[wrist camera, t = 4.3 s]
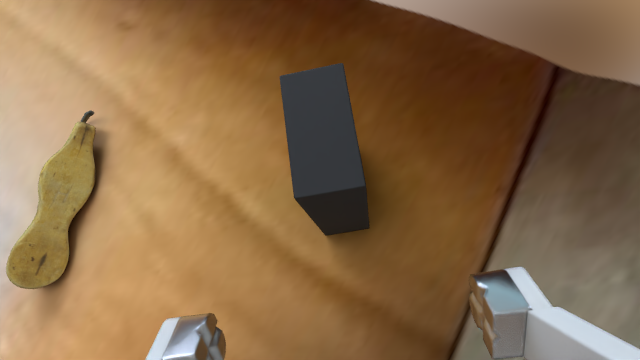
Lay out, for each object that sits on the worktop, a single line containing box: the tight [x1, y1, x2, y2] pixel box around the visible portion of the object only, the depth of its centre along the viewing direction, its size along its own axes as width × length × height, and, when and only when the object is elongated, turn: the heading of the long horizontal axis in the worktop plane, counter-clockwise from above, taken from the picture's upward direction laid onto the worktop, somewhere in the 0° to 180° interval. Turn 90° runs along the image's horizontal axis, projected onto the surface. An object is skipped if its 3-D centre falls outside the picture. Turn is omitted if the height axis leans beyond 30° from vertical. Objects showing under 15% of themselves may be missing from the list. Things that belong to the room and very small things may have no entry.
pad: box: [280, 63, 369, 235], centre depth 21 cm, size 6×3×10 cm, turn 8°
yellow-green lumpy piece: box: [6, 111, 96, 289], centre depth 27 cm, size 3×14×3 cm
